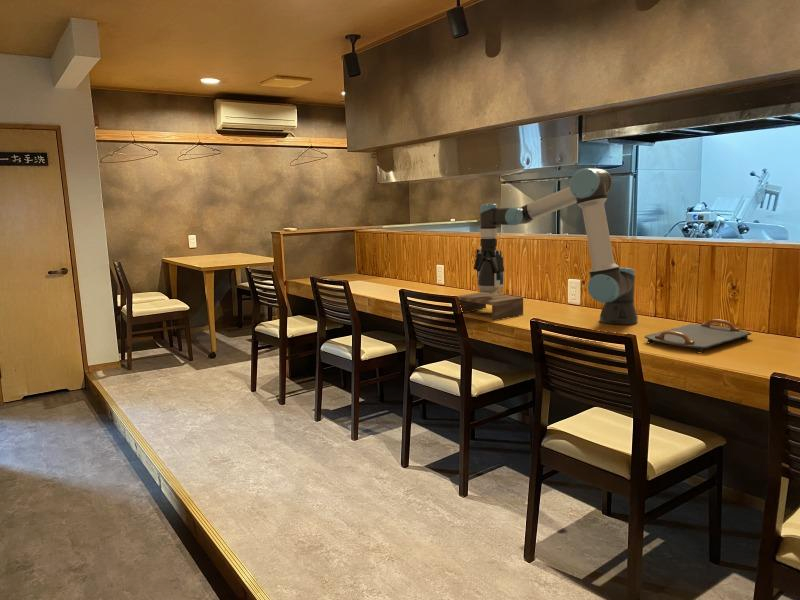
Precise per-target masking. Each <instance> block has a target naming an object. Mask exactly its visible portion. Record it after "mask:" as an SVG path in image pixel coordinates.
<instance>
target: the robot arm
mask: <svg viewBox="0 0 800 600" xmlns="http://www.w3.org/2000/svg"><path fill="white" fill-rule="evenodd" d="M612 179H613V178H612V176H611V174H610V173H609V172H608V171H606V170H604V168H592V167H585V168H581V169H579V170H577V171H575V173H573V175H572V176H571V178H570V181H569V186H567V187H566V188H564V189H561V190H558V191H556V192H554V193H551V194H549V195H547V196H544V197H542V198H539V199H537V200H534V201H533V202H530V203H528V204H525V205H522V206H520V207H519V206H518V207H517V206H516V207H500V208H499V207H498V206H497V203H482V204H481V205H480V210H479V211H480V213H479V217H480V224H479V225H480V232H479V233H480V235H479V237H480V247H481V248H476V250H475V251H476V256H475V259H474V260H475V261H474V264H473V270H475V271H476V276H477V277H476V278H477V279H478V276H479V272H480V268H481V266H482V264H483V262H484V261H485V260H486V259H487V258H489V259H490V260H491V262H492V264H493V267H494V269H495V271H496V272H495V273H494V287H495V288H496V287H500V280H501V272H503V273H504V272H505V268H504V267H505V266H504V260H503V261H502V257H503V256H502V250H501V249H499V250H497V246H498V238H497V237H498V226H517V225H523V224H524V225H526V224H528V223H532V222H533V220H536V219H538V218H541V217H543V216H546V215H549V214H551V213H553V212H556V211H559V210H562V209H563V208H566V207H569V206H572V205H574V204H576V205H577V206H578V207H579V208H581V210H582V216H583V221H584V222H583V223H584V228H585V234H586V238H587V244H588V250H589V255H590V261H591V268H590V269H589V271H588V274H589V278H590V279H589V281H588V284H587V291H588V293H589V296H590V297H591V298H592V299H593V300H594V301H596V302H598V303H603V306H602V309H601V312H600V315H599V322H601V323H604V324H610V325H618V324H623V326H625V325H635V324H637V323H638V322H639V321H638V320H639V319H638V318H639V317H638V313H637V311H636V307H635V283H636V282H635V281H636V272H635V269H634V268H630V267H620V265H618V264H617V263H616V262H615V259H614V253H613V247H612V242H611V236H610V231H609V225H608V220H607V219H608V218H607V213H606V209H605V208H606V207H605V202H607V200H608V197H607V194H608V193H609V192H610V190H611V188H612V185H613V180H612Z"/></svg>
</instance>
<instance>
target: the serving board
mask: <svg viewBox="0 0 800 600" xmlns="http://www.w3.org/2000/svg"><path fill="white" fill-rule="evenodd" d="M712 323H716V324H717V323H718V324H719V323H720V324H725V325H727V326H728V327H726V326H720V325H711V324H712ZM751 335H752V333H751V331H746V330H743V329H740V328H739V327H736V326H735V325H734V324H733V323H732V322H731V321H729V320H725V319H719V318H713V319H709V320H707V321H706V322H705V323H704V322H703V323H701V324H699V323H690V324H685V325H682V326H678V327H674V328H673V327H672V328H669V329H666V330H662V331H658V332H655V333H650V334H646V335H644V336H643V337H644V339H647V342H649V343H653V342H657V343H662V344H665V345H673V346H678V347H686V348H691V349H695V352H696V351H697V352H702V353H704V350H703V349H708V348H711V347H715V346H718V345H722V344H725V343H729V342H732V341H735V340H738V339H739V340H740V339H741V338H742V339H741V340H748V338H749V337H748V336H751ZM649 343H648V344H649ZM653 344H654V343H653ZM697 352H696V353H697Z"/></svg>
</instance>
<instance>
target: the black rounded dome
mask: <svg viewBox="0 0 800 600" xmlns="http://www.w3.org/2000/svg"><path fill="white" fill-rule="evenodd" d="M495 272H496V271H495V269H494V267H493V264H492V262H491V260H490V259H487V260H485V261H484V262H483V264H482V266H481V268H480V272H479V276H478V278H477V285H478V289H479V291H480V290H481V291H482V292H484V293H493V292H495V291H497V289H498V288H499V287H496V288H495V287H494V273H495Z"/></svg>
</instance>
